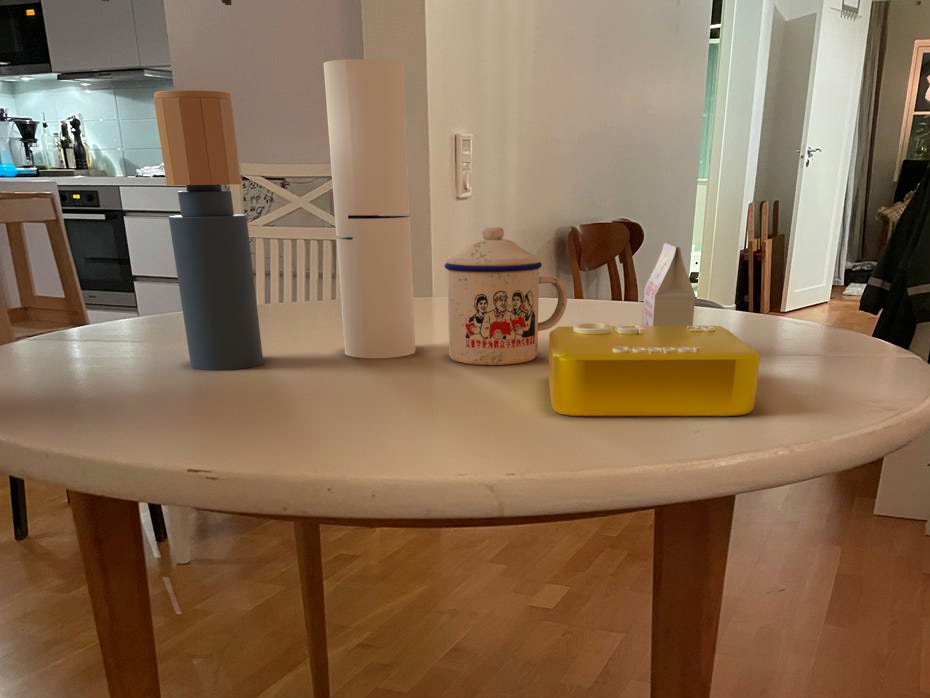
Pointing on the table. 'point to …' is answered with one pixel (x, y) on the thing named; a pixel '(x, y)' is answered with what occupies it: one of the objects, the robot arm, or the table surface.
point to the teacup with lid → (496, 302)
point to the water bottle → (216, 280)
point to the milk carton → (668, 291)
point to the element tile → (651, 371)
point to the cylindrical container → (371, 205)
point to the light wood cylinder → (197, 137)
